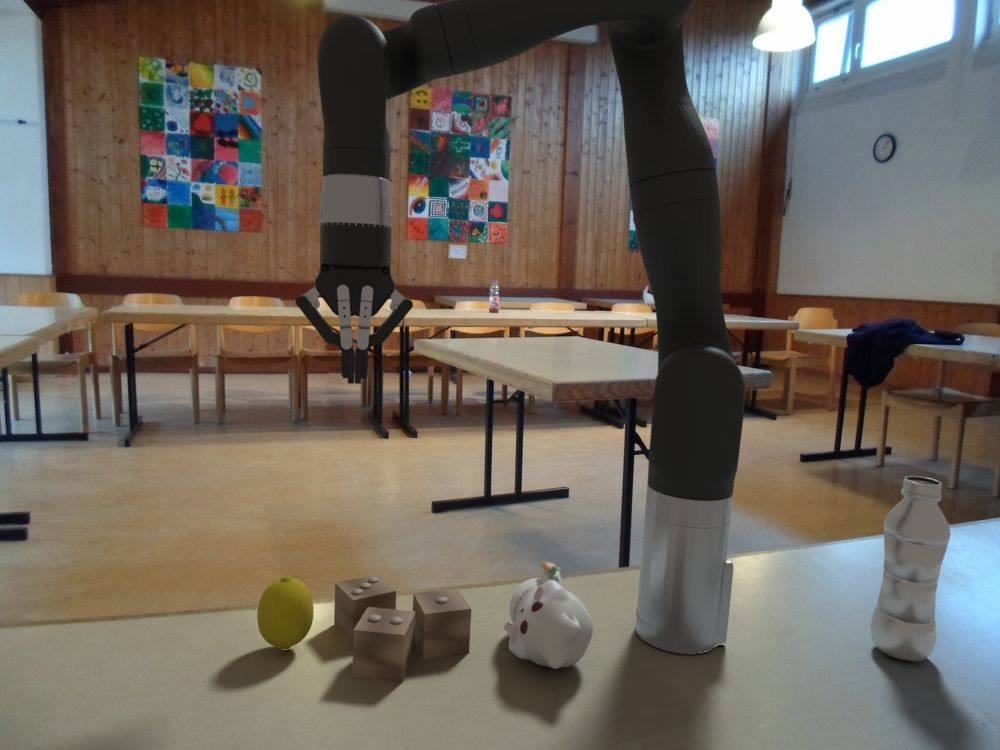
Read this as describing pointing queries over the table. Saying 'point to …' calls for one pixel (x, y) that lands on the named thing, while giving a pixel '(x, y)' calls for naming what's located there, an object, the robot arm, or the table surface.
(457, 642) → the block one dot
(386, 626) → the block two dots
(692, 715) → the table surface
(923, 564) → the plastic bottle
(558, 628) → the cat figurine
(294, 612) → the lemon
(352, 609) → the block three dots
